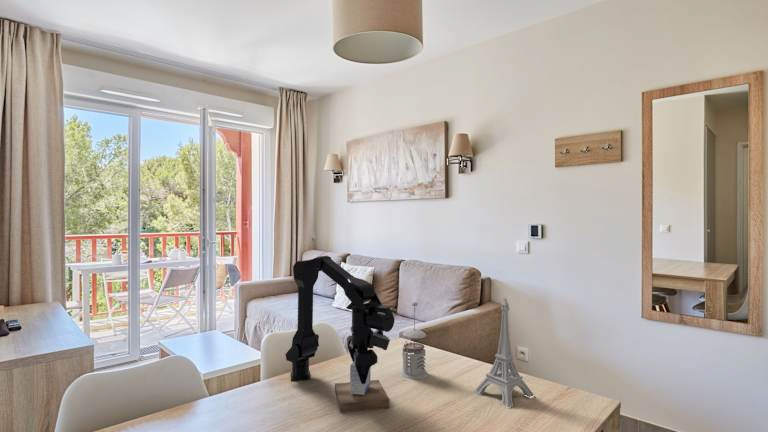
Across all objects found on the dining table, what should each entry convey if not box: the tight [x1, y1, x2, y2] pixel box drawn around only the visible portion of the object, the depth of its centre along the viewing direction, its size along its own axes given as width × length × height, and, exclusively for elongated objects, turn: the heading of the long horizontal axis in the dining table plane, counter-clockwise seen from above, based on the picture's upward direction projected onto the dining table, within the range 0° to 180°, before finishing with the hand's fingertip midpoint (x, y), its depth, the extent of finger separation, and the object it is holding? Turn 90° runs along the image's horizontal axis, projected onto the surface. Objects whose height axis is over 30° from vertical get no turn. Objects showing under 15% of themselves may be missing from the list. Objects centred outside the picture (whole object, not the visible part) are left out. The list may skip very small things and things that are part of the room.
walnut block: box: [334, 379, 390, 414], centre depth 123 cm, size 14×14×2 cm
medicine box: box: [349, 361, 372, 395], centre depth 123 cm, size 8×4×9 cm, turn 169°
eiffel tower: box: [472, 297, 535, 407], centre depth 128 cm, size 13×13×30 cm
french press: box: [399, 301, 429, 380], centre depth 143 cm, size 10×12×25 cm
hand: (360, 377), depth 123 cm, fingers closed on medicine box, 9 cm apart
